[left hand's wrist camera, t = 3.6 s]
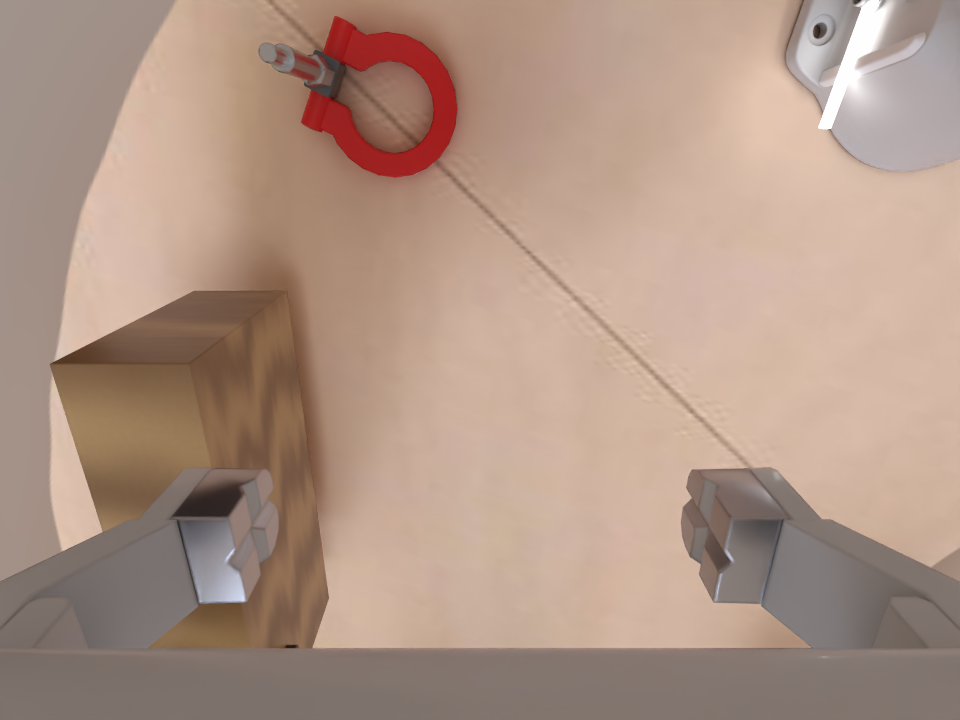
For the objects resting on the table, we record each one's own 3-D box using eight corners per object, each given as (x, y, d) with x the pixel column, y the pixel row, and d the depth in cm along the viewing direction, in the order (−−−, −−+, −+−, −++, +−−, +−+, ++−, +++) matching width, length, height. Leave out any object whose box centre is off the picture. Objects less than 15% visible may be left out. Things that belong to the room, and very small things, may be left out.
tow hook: (477, 74, 35) (341, 1, 33) (489, 48, 23) (278, -68, 21) (426, 196, 38) (298, 135, 36) (414, 228, 26) (222, 140, 24)
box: (193, 290, 36) (48, 363, 24) (287, 290, 36) (189, 363, 24) (255, 598, 45) (175, 760, 33) (329, 598, 45) (274, 760, 33)
